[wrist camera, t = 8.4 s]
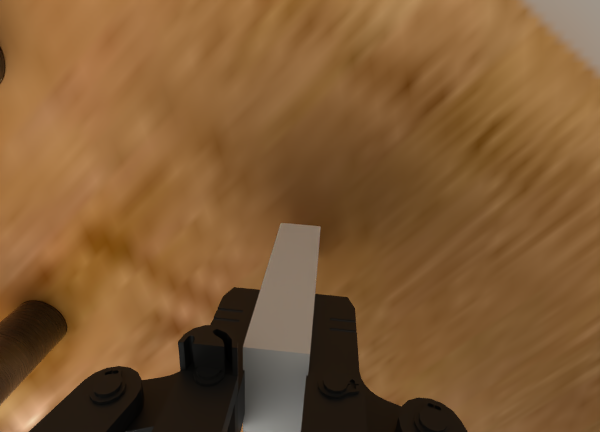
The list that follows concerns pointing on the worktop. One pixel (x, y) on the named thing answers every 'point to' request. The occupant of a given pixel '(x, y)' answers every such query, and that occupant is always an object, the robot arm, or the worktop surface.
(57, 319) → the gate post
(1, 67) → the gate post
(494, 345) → the worktop surface
